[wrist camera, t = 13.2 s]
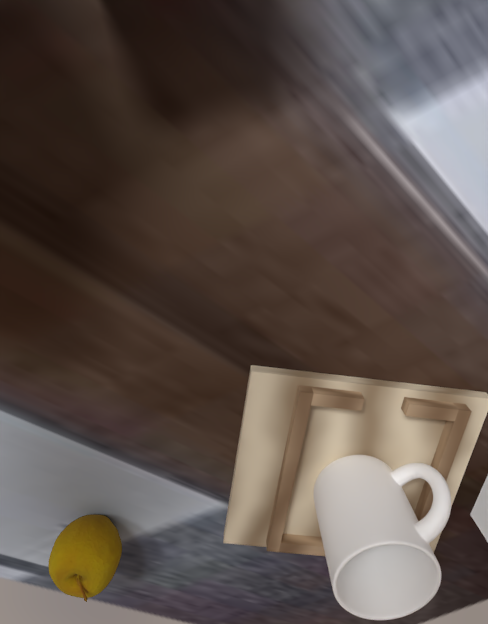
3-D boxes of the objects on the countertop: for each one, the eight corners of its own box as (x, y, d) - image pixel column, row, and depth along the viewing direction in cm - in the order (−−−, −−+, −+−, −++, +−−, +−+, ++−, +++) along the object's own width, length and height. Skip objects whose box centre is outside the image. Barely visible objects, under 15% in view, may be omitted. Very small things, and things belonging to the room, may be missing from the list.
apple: (131, 545, 48) (111, 620, 40) (70, 544, 47) (39, 619, 40) (129, 498, 45) (107, 568, 38) (65, 496, 45) (31, 566, 38)
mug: (394, 412, 41) (444, 495, 31) (445, 466, 43) (505, 559, 33) (294, 484, 43) (310, 581, 34) (346, 531, 46) (375, 635, 36)
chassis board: (223, 533, 47) (223, 553, 45) (250, 364, 40) (251, 378, 38) (425, 552, 48) (434, 572, 46) (485, 392, 42) (499, 406, 39)
